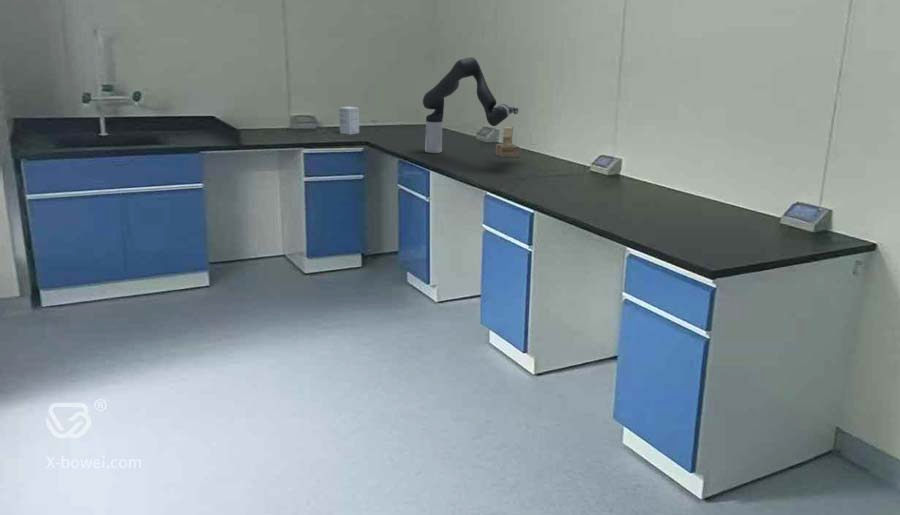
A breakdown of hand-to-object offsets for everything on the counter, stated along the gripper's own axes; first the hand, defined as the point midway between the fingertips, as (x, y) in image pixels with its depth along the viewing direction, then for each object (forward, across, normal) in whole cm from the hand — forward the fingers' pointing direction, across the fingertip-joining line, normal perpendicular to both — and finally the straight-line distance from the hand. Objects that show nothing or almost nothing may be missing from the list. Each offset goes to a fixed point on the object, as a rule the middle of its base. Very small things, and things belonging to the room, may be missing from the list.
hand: (506, 108), depth 397 cm
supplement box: (+62, +111, +30) cm, 130 cm away
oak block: (+11, 0, +21) cm, 24 cm away
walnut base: (+11, 0, +28) cm, 30 cm away
